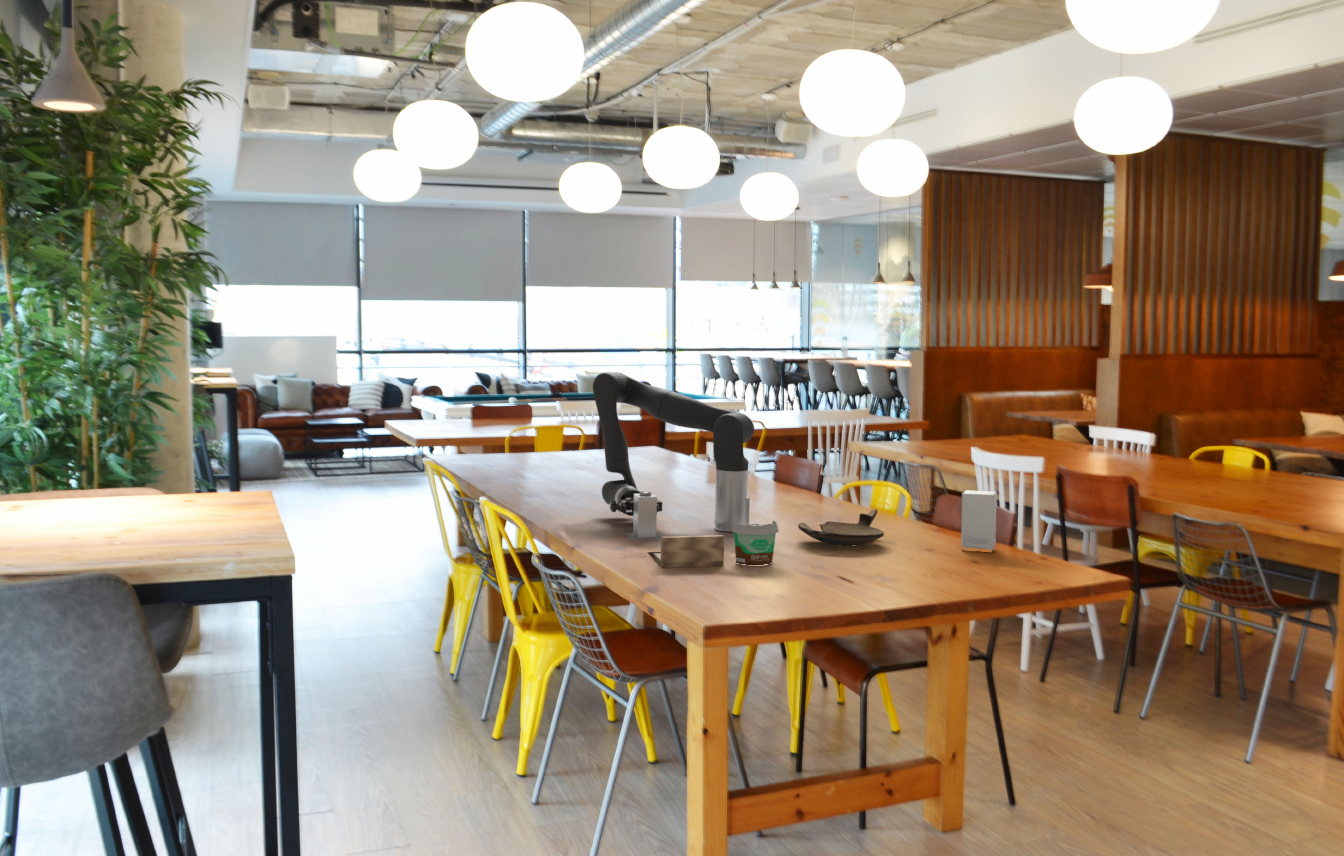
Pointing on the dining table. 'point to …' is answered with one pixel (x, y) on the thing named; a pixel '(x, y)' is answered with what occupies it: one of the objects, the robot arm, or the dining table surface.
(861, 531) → the oil lamp
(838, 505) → the dining table surface
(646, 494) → the block
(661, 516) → the dining table surface
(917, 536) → the dining table surface
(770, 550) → the food container
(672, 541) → the dock
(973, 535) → the skincare box
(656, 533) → the stand
